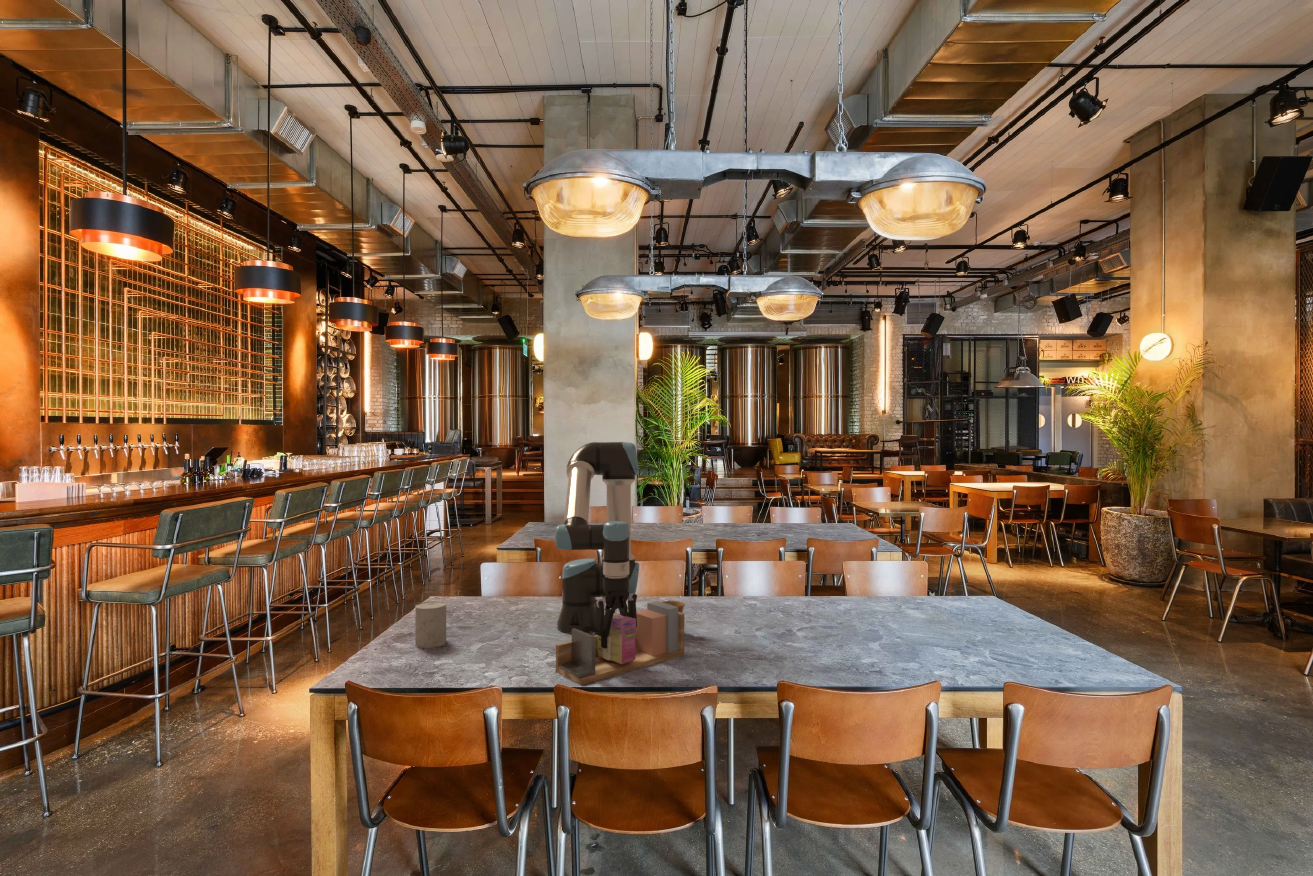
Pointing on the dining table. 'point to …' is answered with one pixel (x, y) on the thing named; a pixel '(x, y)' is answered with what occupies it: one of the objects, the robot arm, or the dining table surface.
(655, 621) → the row books
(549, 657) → the dining table surface
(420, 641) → the grey stone cylinder
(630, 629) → the box
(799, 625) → the dining table surface
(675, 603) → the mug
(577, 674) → the bookend
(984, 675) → the dining table surface
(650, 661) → the wooden desk organizer
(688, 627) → the dining table surface
